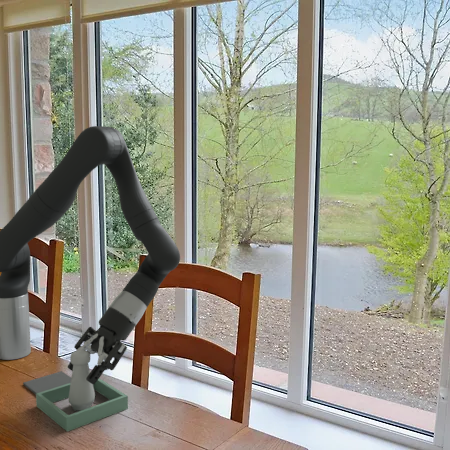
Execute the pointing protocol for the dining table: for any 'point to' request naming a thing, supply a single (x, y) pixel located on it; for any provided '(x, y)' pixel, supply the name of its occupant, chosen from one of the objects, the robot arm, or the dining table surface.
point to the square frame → (87, 415)
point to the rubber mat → (47, 382)
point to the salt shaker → (80, 382)
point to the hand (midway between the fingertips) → (80, 376)
